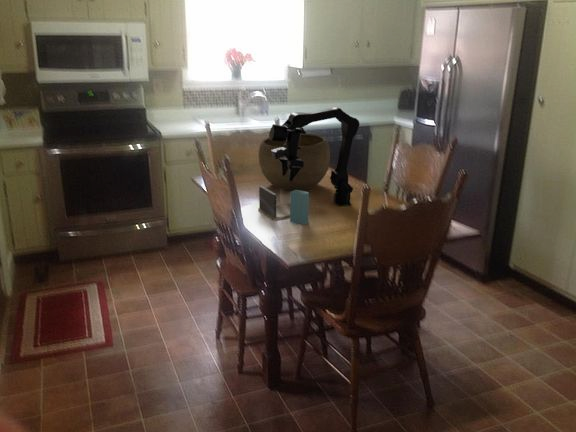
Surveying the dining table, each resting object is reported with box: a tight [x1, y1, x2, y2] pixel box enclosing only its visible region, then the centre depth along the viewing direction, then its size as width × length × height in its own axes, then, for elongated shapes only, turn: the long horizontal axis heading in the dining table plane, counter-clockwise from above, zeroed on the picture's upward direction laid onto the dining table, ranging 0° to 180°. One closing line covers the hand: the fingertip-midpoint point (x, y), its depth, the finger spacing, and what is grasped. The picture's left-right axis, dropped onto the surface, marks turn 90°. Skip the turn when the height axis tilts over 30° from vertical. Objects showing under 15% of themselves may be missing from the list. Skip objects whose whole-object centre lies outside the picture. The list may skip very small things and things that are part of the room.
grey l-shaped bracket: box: [257, 185, 290, 221], centre depth 237 cm, size 16×14×11 cm
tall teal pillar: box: [289, 190, 310, 226], centre depth 226 cm, size 4×6×13 cm, turn 51°
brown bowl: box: [258, 133, 331, 192], centre depth 274 cm, size 35×35×25 cm
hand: (286, 178), depth 239 cm, fingers open, 9 cm apart
